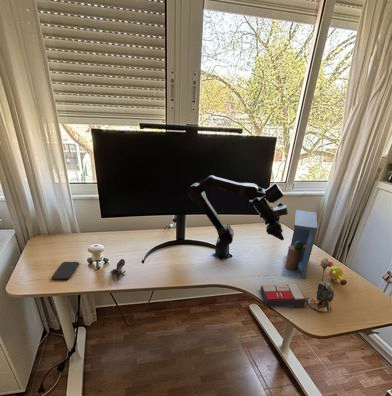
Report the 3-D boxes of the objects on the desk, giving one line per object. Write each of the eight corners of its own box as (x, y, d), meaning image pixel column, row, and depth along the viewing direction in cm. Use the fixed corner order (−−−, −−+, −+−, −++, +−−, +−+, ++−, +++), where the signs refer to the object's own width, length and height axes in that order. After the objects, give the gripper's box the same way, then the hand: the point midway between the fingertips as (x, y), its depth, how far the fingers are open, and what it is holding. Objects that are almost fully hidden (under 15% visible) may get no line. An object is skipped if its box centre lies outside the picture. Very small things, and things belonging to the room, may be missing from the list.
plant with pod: (312, 315, 108) (327, 268, 97) (305, 298, 118) (317, 253, 107) (334, 317, 108) (351, 269, 97) (325, 299, 117) (340, 254, 107)
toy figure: (320, 270, 137) (324, 257, 134) (332, 271, 137) (336, 258, 134) (334, 292, 122) (339, 278, 118) (347, 292, 122) (352, 278, 118)
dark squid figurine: (131, 276, 126) (129, 263, 132) (121, 266, 121) (119, 253, 127) (117, 285, 127) (115, 272, 133) (106, 276, 122) (105, 262, 128)
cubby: (283, 275, 132) (294, 224, 119) (286, 256, 149) (296, 209, 136) (303, 279, 130) (317, 228, 117) (304, 259, 147) (316, 212, 134)
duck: (284, 269, 137) (290, 242, 129) (285, 263, 142) (290, 237, 134) (300, 271, 135) (307, 244, 128) (300, 266, 140) (307, 239, 132)
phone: (79, 261, 136) (68, 278, 123) (79, 263, 136) (69, 280, 123) (63, 261, 135) (50, 278, 123) (63, 263, 136) (51, 279, 123)
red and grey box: (260, 283, 119) (297, 282, 119) (259, 292, 121) (295, 291, 121) (266, 299, 110) (306, 298, 110) (265, 308, 112) (304, 307, 112)
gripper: (281, 204, 119) (300, 234, 124) (278, 192, 135) (296, 219, 140) (257, 220, 125) (277, 247, 129) (258, 206, 140) (275, 232, 145)
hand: (282, 235), depth 136 cm, fingers open, 9 cm apart
